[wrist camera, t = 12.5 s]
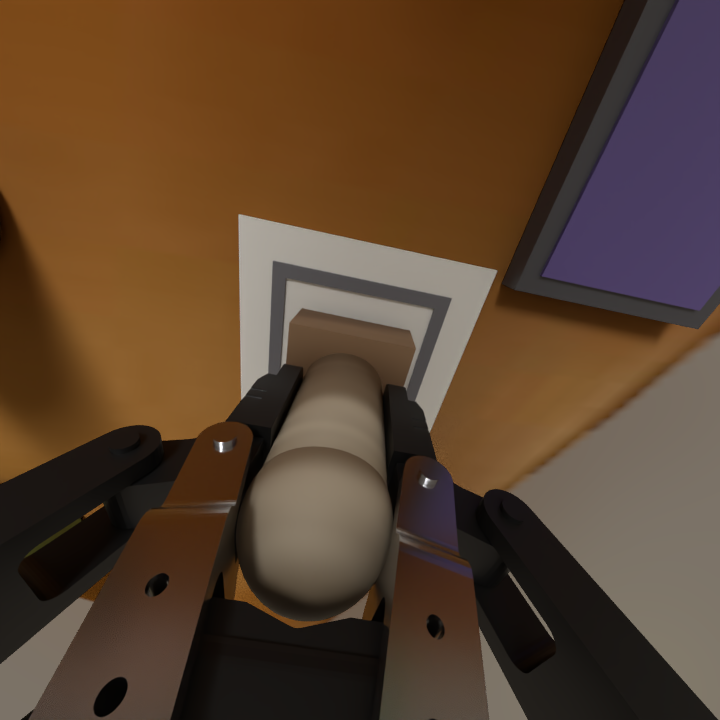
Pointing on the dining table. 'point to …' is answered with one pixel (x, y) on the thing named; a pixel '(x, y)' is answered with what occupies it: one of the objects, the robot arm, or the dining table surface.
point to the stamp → (325, 472)
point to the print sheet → (355, 299)
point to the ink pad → (637, 175)
